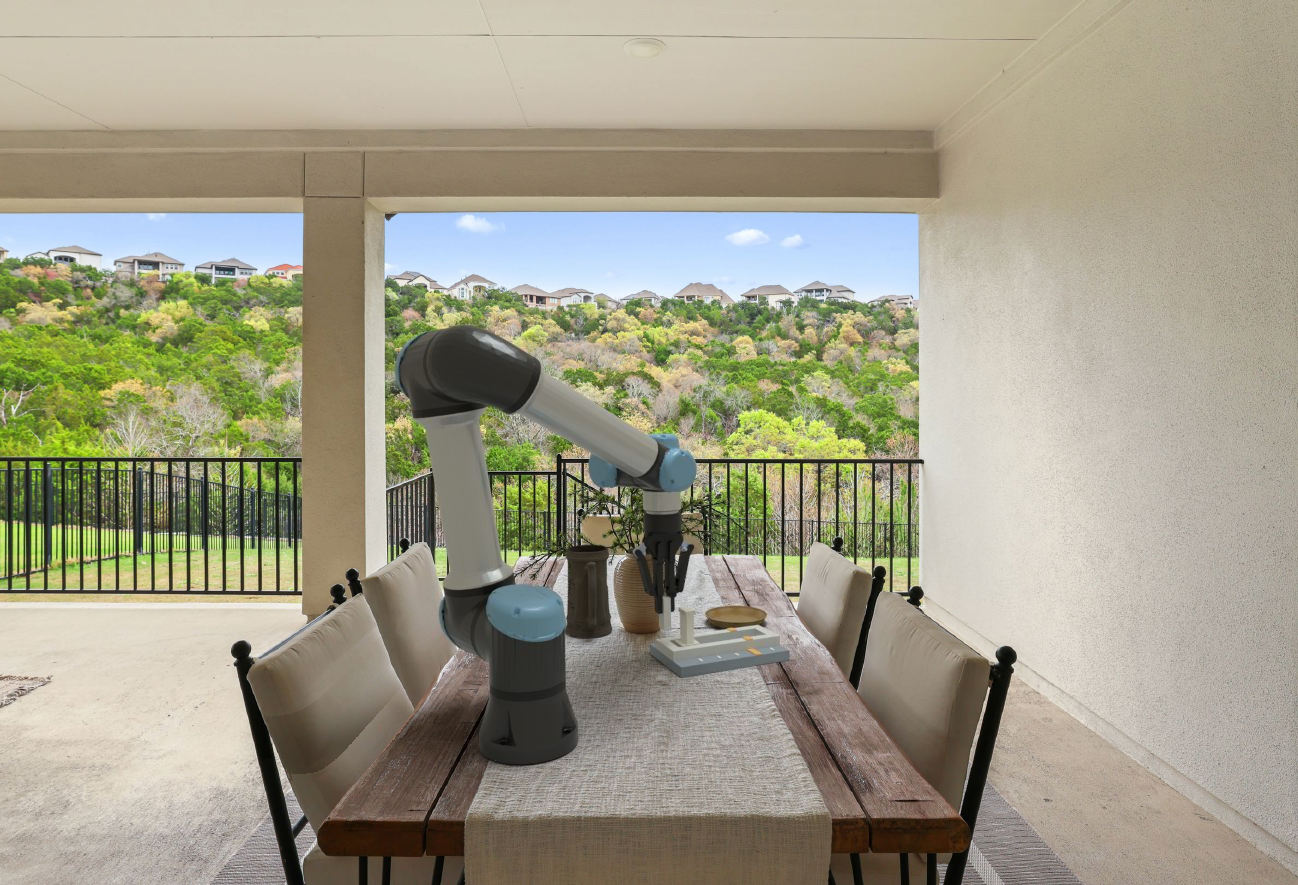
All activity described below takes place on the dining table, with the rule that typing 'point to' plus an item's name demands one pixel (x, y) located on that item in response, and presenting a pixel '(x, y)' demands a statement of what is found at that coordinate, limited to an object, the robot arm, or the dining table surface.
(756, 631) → the console
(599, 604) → the beer stein
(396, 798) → the dining table surface
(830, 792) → the dining table surface
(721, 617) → the plant saucer
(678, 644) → the fader tab
